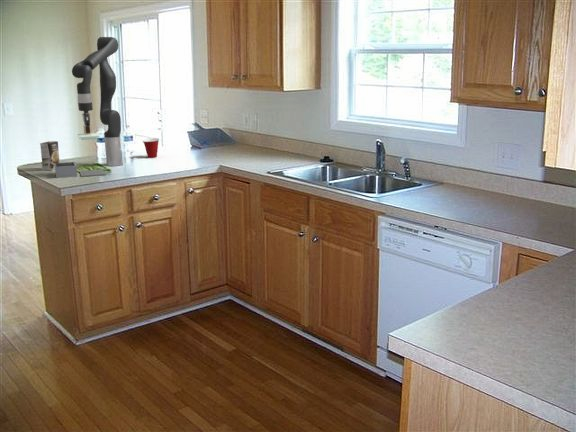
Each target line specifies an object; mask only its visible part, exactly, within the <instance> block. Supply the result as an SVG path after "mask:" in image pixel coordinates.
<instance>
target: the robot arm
mask: <svg viewBox="0 0 576 432" xmlns="http://www.w3.org/2000/svg"><path fill="white" fill-rule="evenodd" d="M96 41H97V42H96V47H97V50H95V51H94V52H91V53H89V55H88V56H87V57H85V58H84V60H81V61H79V62H78V63H75V64H74V65H73V67H72V68H71V74H72V75H73V77H75V78H76V79H82V81H81V82H78V83H77V84H76V93H77V106H78V111H79V112H83V113H82V114H81V115H82V116H81V117H82V120H83V121H82V122H83V123H84V125H85V127H86V133H90V125H91V113H89V112H90V111H93V110H94V108H93V99H92V93H91V84H92V78H93V77H92V76H93V70H95V68H97V66H98V65H99V87H100V90H99V91H100V92H99V93H100V107H99V108H100V109H99V110H100V111H99V119H100V123H102V124H103V125H105V126H107V130H106V131H104V133H103V139H104V151H105V158H106V159H105V163H106V165H107V166H110V167H116V166H123V153H122V152H123V151H122V145H121V144H122V143H121V132H122V124H121V123H122V121H121V119H122V118H121V115H120V112H119V111H117V110H115V109H114V110H113V109H112V100H113V98H114V95H115V92H116V90H117V77H116V73H115V71H114V70H113V68H112V67H111V65H110V63H109V60H108V58H109V57H110V56H112V55H114V54H116V53H117V51H118V50H119V41H118V39H117V38H116V37H112V36H101V37H100V36H99V38H97V40H96Z"/></svg>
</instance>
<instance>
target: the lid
mask: <svg viewBox="0 0 576 432" xmlns="http://www.w3.org/2000/svg"><path fill="white" fill-rule="evenodd" d="M77 137H78V139H80V140H81V141H84V140H85V141H87V140H98V138H101V135H100V134H99V133H98V132H92V124H90V133H86V127H85V124H84V125H83V133H77Z"/></svg>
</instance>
